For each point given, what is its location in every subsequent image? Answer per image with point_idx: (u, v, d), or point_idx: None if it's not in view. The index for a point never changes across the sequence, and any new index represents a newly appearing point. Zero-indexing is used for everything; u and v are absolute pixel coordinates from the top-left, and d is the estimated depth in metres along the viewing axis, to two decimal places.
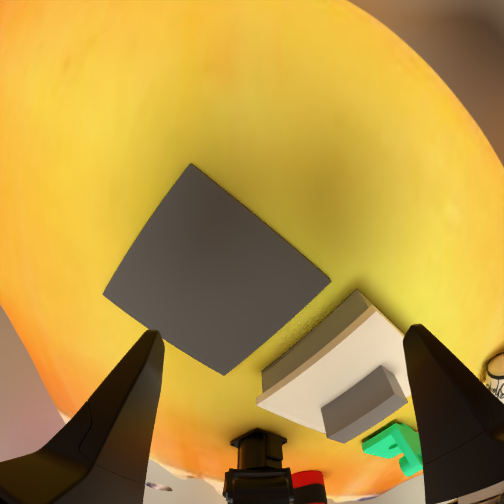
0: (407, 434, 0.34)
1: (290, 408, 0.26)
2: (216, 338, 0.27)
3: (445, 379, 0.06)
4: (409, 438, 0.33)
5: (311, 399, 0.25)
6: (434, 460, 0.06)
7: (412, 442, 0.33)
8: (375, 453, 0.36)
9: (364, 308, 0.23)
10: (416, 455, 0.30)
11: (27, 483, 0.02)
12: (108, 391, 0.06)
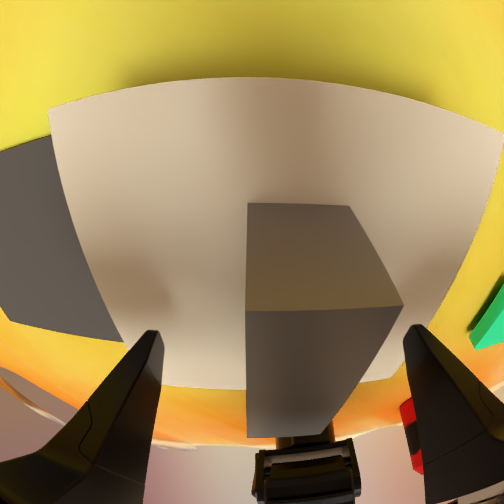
0: None
1: (196, 374, 0.14)
2: (77, 305, 0.17)
3: (445, 379, 0.06)
4: None
5: (201, 351, 0.12)
6: (434, 460, 0.06)
7: None
8: (497, 341, 0.19)
9: None
10: None
11: (27, 483, 0.02)
12: (108, 391, 0.06)
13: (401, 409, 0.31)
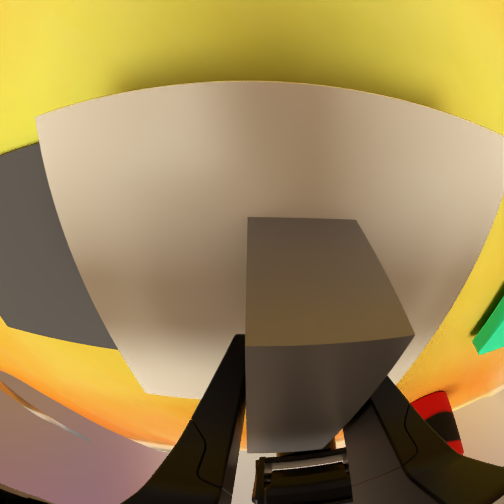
0: None
1: (195, 386, 0.13)
2: (74, 313, 0.17)
3: None
4: None
5: (200, 364, 0.12)
6: (359, 483, 0.06)
7: None
8: (501, 345, 0.18)
9: None
10: None
11: None
12: (215, 405, 0.06)
13: None
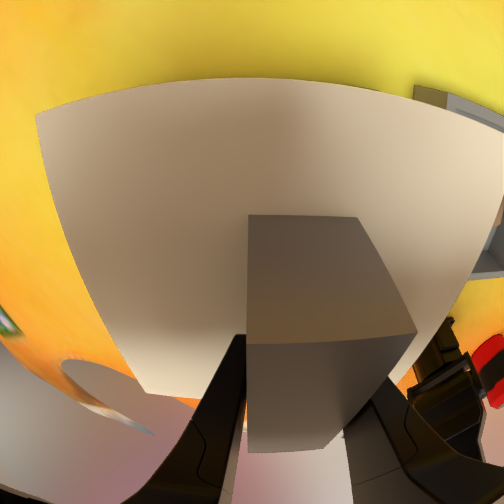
0: None
1: (195, 386, 0.13)
2: None
3: None
4: None
5: (200, 364, 0.12)
6: (359, 483, 0.06)
7: None
8: None
9: (438, 96, 0.12)
10: None
11: None
12: (215, 405, 0.06)
13: (474, 356, 0.34)
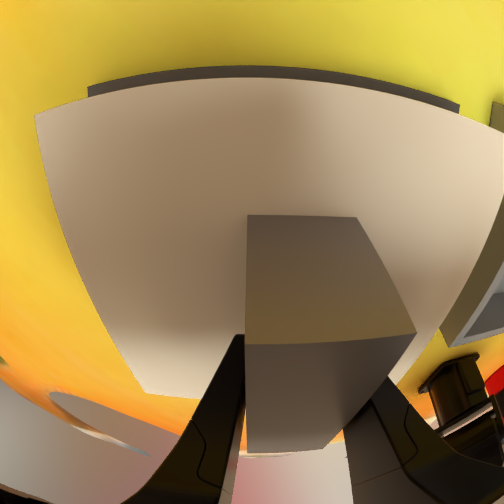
0: None
1: (195, 386, 0.13)
2: None
3: None
4: None
5: (200, 364, 0.12)
6: (359, 483, 0.06)
7: None
8: None
9: None
10: None
11: None
12: (215, 405, 0.06)
13: (488, 381, 0.29)
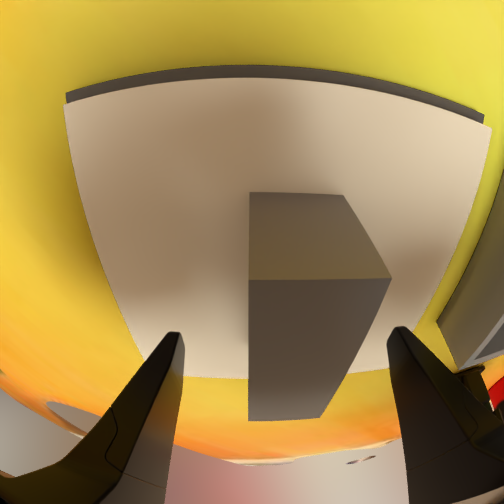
0: None
1: (198, 363, 0.14)
2: None
3: (427, 384, 0.06)
4: None
5: (204, 338, 0.13)
6: (417, 467, 0.06)
7: None
8: None
9: None
10: None
11: (53, 498, 0.02)
12: (133, 396, 0.06)
13: (492, 390, 0.28)
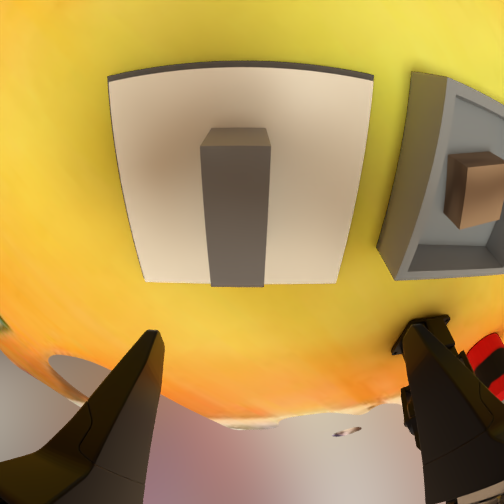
0: None
1: (181, 266, 0.20)
2: None
3: (445, 379, 0.06)
4: None
5: (185, 238, 0.19)
6: (434, 460, 0.06)
7: None
8: None
9: (437, 81, 0.11)
10: None
11: (27, 483, 0.02)
12: (108, 391, 0.06)
13: (469, 355, 0.34)
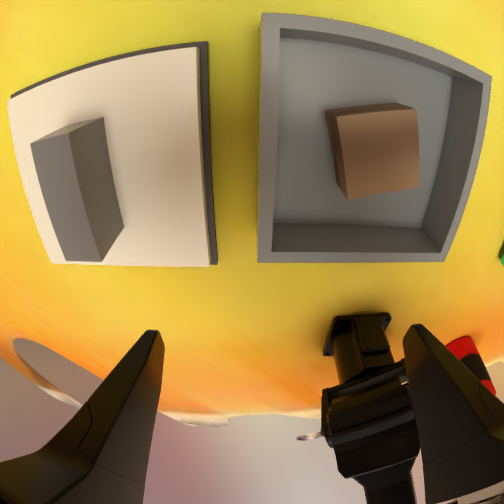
0: None
1: None
2: None
3: (445, 379, 0.06)
4: None
5: None
6: (434, 460, 0.06)
7: None
8: None
9: (261, 22, 0.10)
10: None
11: (27, 483, 0.02)
12: (108, 391, 0.06)
13: None
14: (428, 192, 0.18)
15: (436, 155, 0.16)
